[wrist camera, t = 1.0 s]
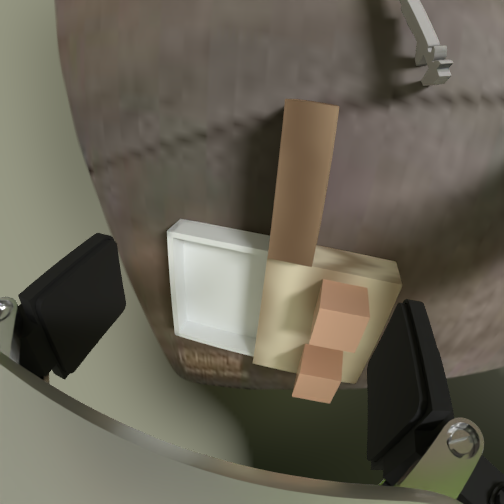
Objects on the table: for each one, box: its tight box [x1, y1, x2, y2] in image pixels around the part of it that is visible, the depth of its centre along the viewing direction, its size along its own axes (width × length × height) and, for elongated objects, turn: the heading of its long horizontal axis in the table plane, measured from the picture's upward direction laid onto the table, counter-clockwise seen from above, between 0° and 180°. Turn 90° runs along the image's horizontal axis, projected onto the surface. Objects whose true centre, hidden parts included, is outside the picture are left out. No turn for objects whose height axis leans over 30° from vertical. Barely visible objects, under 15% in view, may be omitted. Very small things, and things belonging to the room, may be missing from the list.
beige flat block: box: [253, 245, 402, 384], centre depth 30 cm, size 12×14×4 cm
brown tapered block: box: [268, 99, 339, 267], centre depth 23 cm, size 4×12×6 cm, turn 175°
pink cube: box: [309, 279, 370, 353], centre depth 25 cm, size 4×4×4 cm
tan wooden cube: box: [292, 344, 343, 403], centre depth 29 cm, size 4×4×4 cm
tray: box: [167, 219, 270, 357], centre depth 33 cm, size 10×14×3 cm
